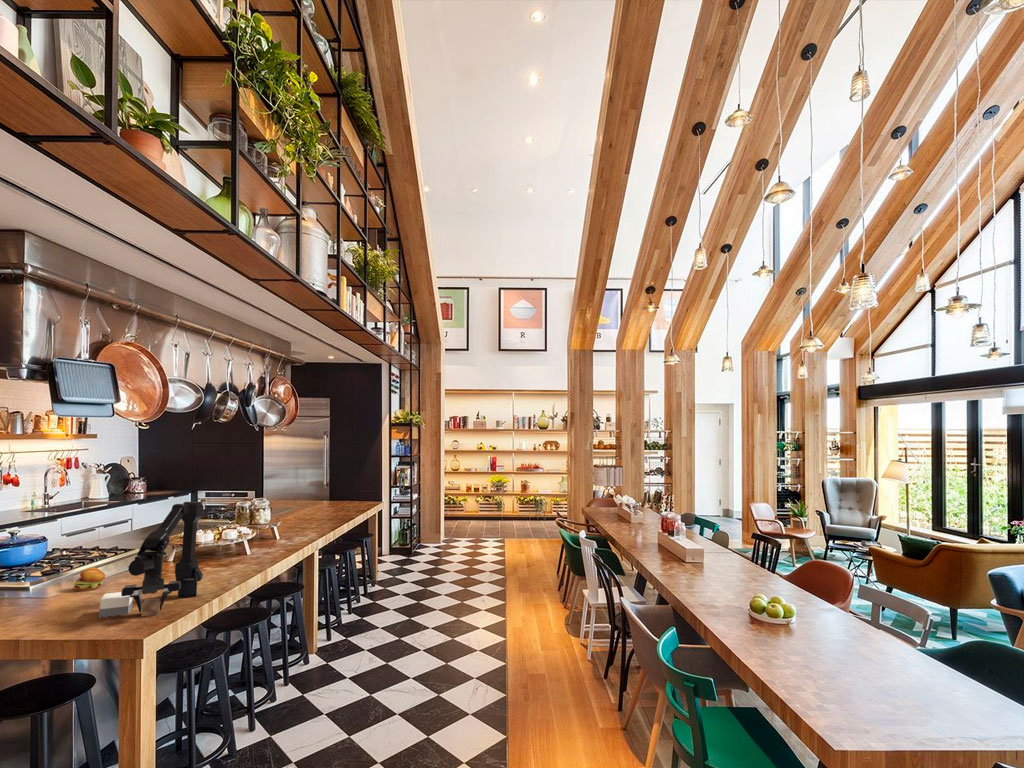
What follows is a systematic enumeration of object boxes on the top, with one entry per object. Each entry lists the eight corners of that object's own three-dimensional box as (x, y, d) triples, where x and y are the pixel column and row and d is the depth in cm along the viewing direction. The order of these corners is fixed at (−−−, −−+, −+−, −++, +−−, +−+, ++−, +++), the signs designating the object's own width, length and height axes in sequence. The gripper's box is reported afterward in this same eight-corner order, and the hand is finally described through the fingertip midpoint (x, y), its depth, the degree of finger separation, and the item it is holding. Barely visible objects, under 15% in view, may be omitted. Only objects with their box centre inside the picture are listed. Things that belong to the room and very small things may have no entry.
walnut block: (158, 611, 213) (159, 598, 213) (156, 615, 208) (157, 601, 209) (143, 613, 210) (144, 599, 211) (141, 617, 206) (142, 603, 206)
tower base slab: (131, 609, 216) (132, 600, 217) (127, 615, 208) (128, 606, 209) (103, 612, 212) (104, 602, 213) (98, 619, 204) (99, 609, 205)
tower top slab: (132, 600, 217) (133, 590, 217) (128, 606, 209) (129, 596, 209) (104, 602, 213) (105, 593, 213) (99, 609, 205) (100, 599, 205)
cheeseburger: (86, 584, 248) (93, 563, 249) (106, 591, 247) (113, 569, 248) (66, 590, 238) (73, 567, 239) (87, 597, 237) (94, 574, 238)
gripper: (120, 576, 200) (116, 620, 198) (179, 571, 208) (176, 614, 206) (125, 569, 210) (122, 612, 208) (182, 565, 218) (179, 605, 216)
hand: (150, 611), depth 209 cm, fingers open, 6 cm apart
